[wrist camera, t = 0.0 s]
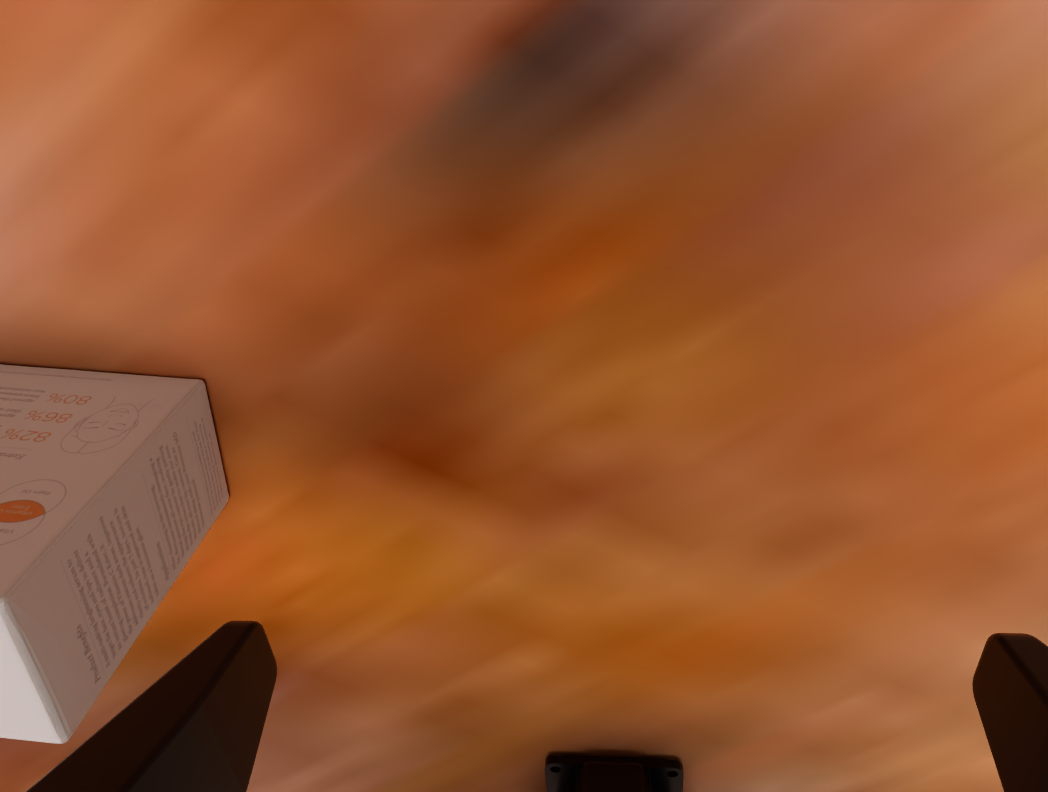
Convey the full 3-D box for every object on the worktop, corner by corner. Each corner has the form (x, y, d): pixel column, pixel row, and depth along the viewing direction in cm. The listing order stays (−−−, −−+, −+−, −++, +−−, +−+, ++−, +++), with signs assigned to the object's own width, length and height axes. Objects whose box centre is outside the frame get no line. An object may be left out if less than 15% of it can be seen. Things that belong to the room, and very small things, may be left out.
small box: (38, 481, 29) (-217, 721, 20) (-10, 357, 26) (-336, 572, 17) (236, 500, 28) (67, 753, 19) (210, 375, 25) (-3, 606, 16)
